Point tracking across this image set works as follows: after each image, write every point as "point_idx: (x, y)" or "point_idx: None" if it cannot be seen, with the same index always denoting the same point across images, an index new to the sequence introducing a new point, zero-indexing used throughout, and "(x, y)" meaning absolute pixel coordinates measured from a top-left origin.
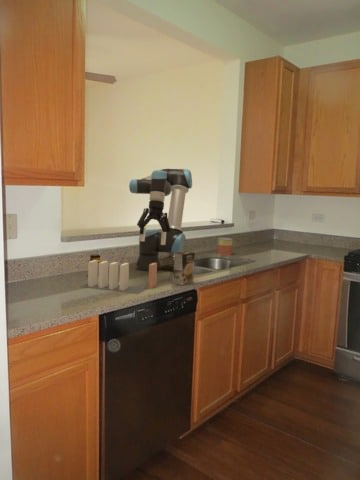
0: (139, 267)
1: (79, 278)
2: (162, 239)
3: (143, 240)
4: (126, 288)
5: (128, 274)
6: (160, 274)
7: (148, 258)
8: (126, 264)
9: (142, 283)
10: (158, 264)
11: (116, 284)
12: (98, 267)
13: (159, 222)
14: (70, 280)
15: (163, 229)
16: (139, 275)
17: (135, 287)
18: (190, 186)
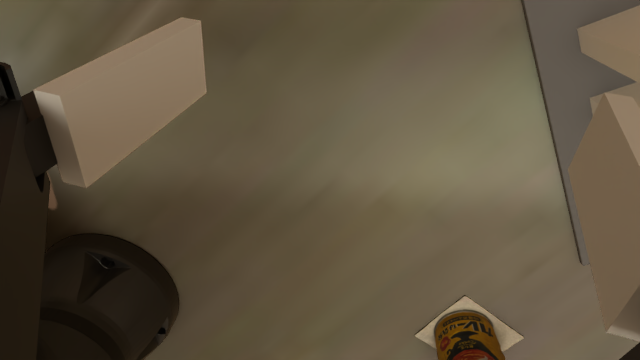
0: (172, 305)
1: (536, 354)
2: (162, 96)
3: (632, 101)
4: (611, 16)
5: (626, 46)
6: (140, 159)
7: (107, 312)
8: None
9: (391, 73)
10: (65, 256)
11: (623, 95)
12: (480, 354)
13: (27, 344)
14: (597, 353)
15: (35, 180)
16: (260, 219)
17: (538, 3)
18: None
